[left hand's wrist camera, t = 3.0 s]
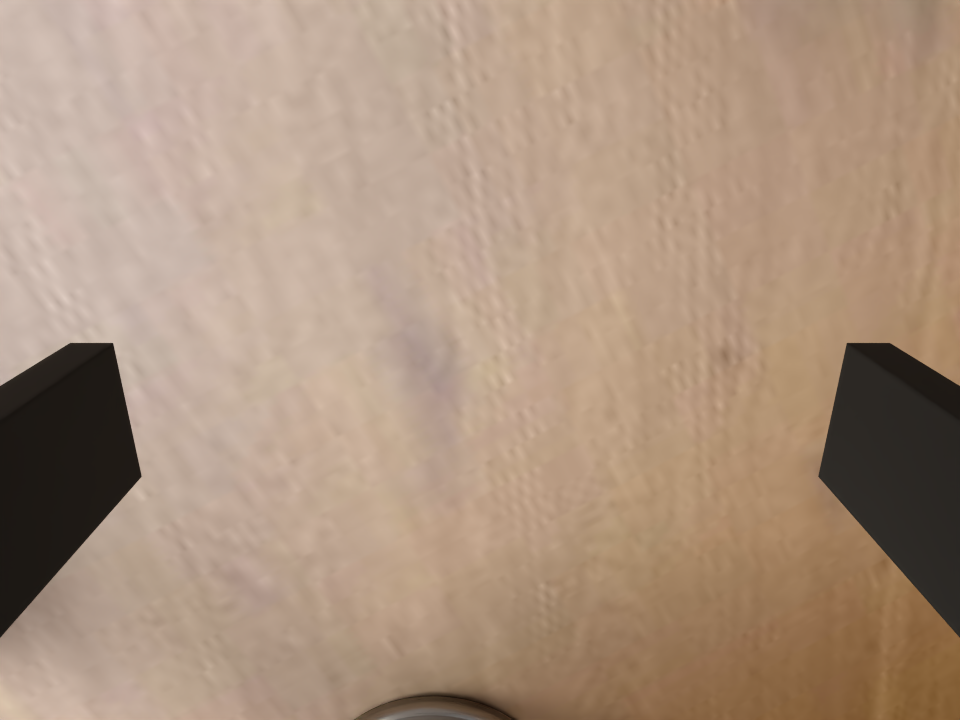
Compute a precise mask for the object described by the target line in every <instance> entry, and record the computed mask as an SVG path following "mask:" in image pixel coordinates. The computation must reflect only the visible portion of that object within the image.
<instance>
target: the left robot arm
mask: <svg viewBox="0 0 960 720" xmlns="http://www.w3.org/2000/svg"><path fill="white" fill-rule="evenodd" d="M141 477H142V476H141V472H140V467H139V462H138V458H137V453H136V448H135V443H134V439H133V434H132V429H131V425H130V420H129V415H128V411H127V406H126V401H125V397H124V392H123V387H122V383H121V378H120V373H119V369H118V364H117V359H116V355H115V350H114V345H113V343H70V344H68V345H66V346H65V347H63V348H61V349H60V350H58V351H57V352H55V353H53V354H52V355H50V356H48V357H47V358H45V359H44V360H42V361H40V362H39V363H37V364H35V365H34V366H32V367H31V368H29V369H27V370H26V371H24V372H22V373H21V374H19V375H18V376H16V377H14V378H13V379H11V380H9V381H8V382H6V383H5V384H3V385H1V386H0V637H1V636H2V635H3V634H4V633H5V631H6V630H7V629H8V628H9V627H10V626H11V625H12V624H13V622H14V621H15V620H16V619H17V618H18V617H19V616H20V614H21V613H22V612H23V611H24V610H25V609H26V608H27V606H28V605H29V604H30V603H31V602H32V601H33V600H34V598H35V597H36V596H37V595H38V594H39V593H40V592H41V590H42V589H43V588H44V587H45V586H46V585H47V584H48V583H49V581H50V580H51V579H52V578H53V577H54V576H55V575H56V573H57V572H58V571H59V570H60V569H61V568H62V567H63V565H64V564H65V563H66V562H67V561H68V560H69V559H70V557H71V556H72V555H73V554H74V553H75V552H76V551H77V549H78V548H79V547H80V546H81V545H82V544H83V543H84V542H85V540H86V539H87V538H88V537H89V536H90V535H91V534H92V532H93V531H94V530H95V529H96V528H97V527H98V526H99V524H100V523H101V522H102V521H103V520H104V519H105V518H106V516H107V515H108V514H109V513H110V512H111V511H112V510H113V509H114V507H115V506H116V505H117V504H118V503H119V502H120V501H121V499H122V498H123V497H124V496H125V495H126V494H127V493H128V491H129V490H130V489H131V488H132V487H133V486H134V485H135V483H136V482H137V481H138V480H139V479H140V478H141ZM818 477H819V478H820V479H821V480H822V481H823V482H824V483H825V485H826V486H827V487H828V488H829V489H830V490H831V491H832V493H833V494H834V495H835V496H836V497H837V498H838V499H839V501H840V502H841V503H842V504H843V505H844V506H845V507H846V509H847V510H848V511H849V512H850V513H851V514H852V515H853V516H854V518H855V519H856V520H857V521H858V522H859V523H860V524H861V526H862V527H863V528H864V529H865V530H866V531H867V532H868V534H869V535H870V536H871V537H872V538H873V539H874V540H875V542H876V543H877V544H878V545H879V546H880V547H881V548H882V550H883V551H884V552H885V553H886V554H887V555H888V556H889V557H890V559H891V560H892V561H893V562H894V563H895V564H896V565H897V567H898V568H899V569H900V570H901V571H902V572H903V573H904V575H905V576H906V577H907V578H908V579H909V580H910V581H911V583H912V584H913V585H914V586H915V587H916V588H917V589H918V590H919V592H920V593H921V594H922V595H923V596H924V597H925V598H926V600H927V601H928V602H929V603H930V604H931V605H932V606H933V608H934V609H935V610H936V611H937V612H938V613H939V614H940V616H941V617H942V618H943V619H944V620H945V621H946V622H947V624H948V625H949V626H950V627H951V628H952V629H953V630H954V631H955V633H956V634H957V635H958V636H959V637H960V386H959V385H957V384H955V383H954V382H952V381H951V380H949V379H947V378H946V377H944V376H942V375H941V374H939V373H938V372H936V371H934V370H933V369H931V368H929V367H928V366H926V365H925V364H923V363H921V362H920V361H918V360H916V359H915V358H913V357H912V356H910V355H908V354H907V353H905V352H903V351H902V350H900V349H899V348H897V347H895V346H894V345H892V344H890V343H847V345H846V350H845V355H844V359H843V364H842V369H841V373H840V378H839V383H838V387H837V392H836V397H835V401H834V406H833V411H832V415H831V420H830V425H829V429H828V434H827V439H826V443H825V448H824V453H823V458H822V462H821V467H820V472H819V476H818ZM355 720H512V719H511V718H509V717H508V716H506V715H504V714H503V713H501V712H499V711H497V710H495V709H493V708H490V707H488V706H485V705H483V704H480V703H476V702H473V701H469V700H464V699H459V698H453V697H442V696H422V697H412V698H406V699H401V700H397V701H393V702H389V703H386V704H383V705H381V706H378V707H376V708H374V709H371V710H370V711H368V712H366V713H364V714H362V715H361V716H359V717H358V718H356V719H355Z"/></svg>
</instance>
